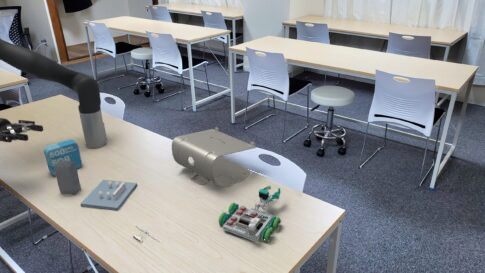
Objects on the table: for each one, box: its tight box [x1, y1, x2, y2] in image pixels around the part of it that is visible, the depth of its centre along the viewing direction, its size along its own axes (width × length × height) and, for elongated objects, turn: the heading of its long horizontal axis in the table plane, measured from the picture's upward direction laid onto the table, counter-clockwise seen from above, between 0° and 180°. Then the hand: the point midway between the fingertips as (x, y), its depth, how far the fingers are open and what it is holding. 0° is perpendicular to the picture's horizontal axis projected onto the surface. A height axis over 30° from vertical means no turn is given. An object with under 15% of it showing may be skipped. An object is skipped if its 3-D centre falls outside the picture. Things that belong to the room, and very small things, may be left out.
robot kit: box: [218, 185, 282, 243], centre depth 125 cm, size 19×25×9 cm
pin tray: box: [80, 179, 138, 212], centre depth 137 cm, size 16×14×4 cm
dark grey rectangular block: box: [54, 160, 82, 196], centre depth 138 cm, size 4×6×12 cm, turn 80°
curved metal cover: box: [171, 126, 256, 188], centre depth 150 cm, size 26×24×16 cm
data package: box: [43, 139, 83, 177], centre depth 152 cm, size 12×4×12 cm, turn 132°
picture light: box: [132, 223, 162, 244], centre depth 118 cm, size 14×4×2 cm, turn 51°
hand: (35, 133), depth 133 cm, fingers open, 8 cm apart
